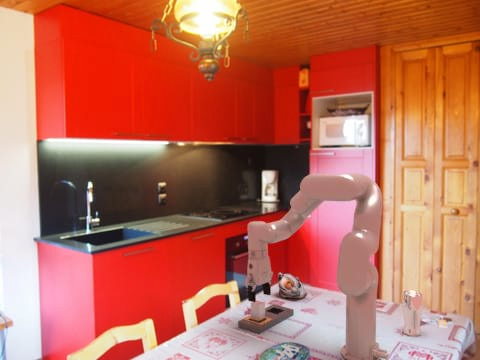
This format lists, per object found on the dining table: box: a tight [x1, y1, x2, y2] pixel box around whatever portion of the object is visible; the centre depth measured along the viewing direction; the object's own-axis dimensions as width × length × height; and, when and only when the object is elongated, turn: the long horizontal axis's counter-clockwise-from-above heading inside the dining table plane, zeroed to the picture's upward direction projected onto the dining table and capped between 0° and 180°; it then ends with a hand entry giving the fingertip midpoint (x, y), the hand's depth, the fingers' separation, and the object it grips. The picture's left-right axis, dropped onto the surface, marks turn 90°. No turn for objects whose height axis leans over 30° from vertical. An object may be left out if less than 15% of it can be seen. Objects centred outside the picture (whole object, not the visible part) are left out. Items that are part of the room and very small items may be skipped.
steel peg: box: [250, 300, 266, 323], centre depth 154 cm, size 4×4×9 cm
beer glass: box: [401, 290, 424, 337], centre depth 149 cm, size 7×7×15 cm
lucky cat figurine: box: [277, 271, 308, 299], centre depth 189 cm, size 15×12×14 cm
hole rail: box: [237, 303, 294, 335], centre depth 159 cm, size 10×24×3 cm, turn 141°
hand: (259, 297), depth 154 cm, fingers open, 9 cm apart
